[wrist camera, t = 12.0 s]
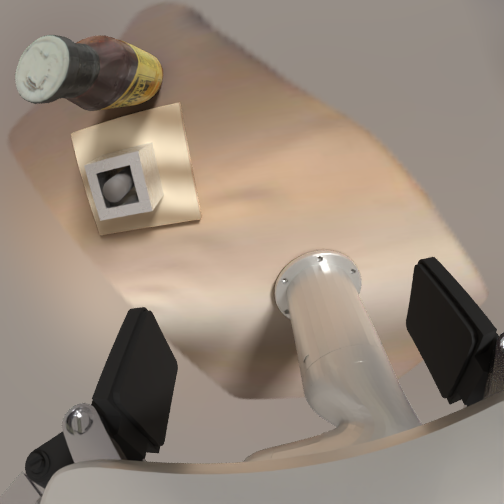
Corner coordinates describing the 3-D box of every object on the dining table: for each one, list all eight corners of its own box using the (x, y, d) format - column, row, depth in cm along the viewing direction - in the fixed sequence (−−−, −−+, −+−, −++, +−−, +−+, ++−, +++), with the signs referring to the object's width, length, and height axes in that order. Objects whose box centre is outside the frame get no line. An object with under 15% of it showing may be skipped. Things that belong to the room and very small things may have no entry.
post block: (202, 215, 36) (194, 243, 30) (102, 232, 37) (81, 259, 31) (180, 102, 29) (165, 104, 23) (74, 132, 30) (43, 143, 24)
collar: (163, 194, 34) (152, 210, 29) (116, 203, 34) (100, 220, 30) (152, 142, 31) (138, 150, 26) (103, 154, 31) (84, 165, 26)
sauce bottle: (123, 112, 29) (10, 147, 12) (109, 66, 26) (-12, 62, 9) (175, 91, 29) (93, 95, 12) (160, 43, 26) (68, -1, 9)
